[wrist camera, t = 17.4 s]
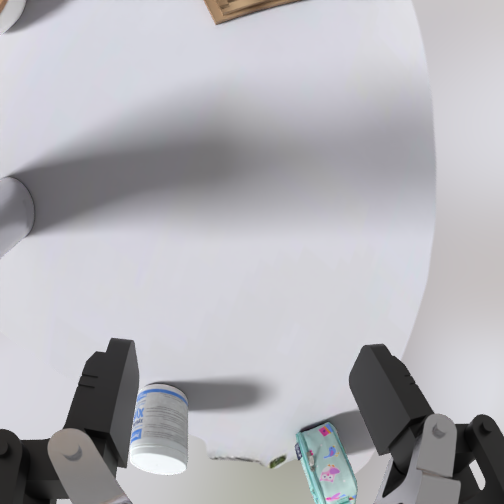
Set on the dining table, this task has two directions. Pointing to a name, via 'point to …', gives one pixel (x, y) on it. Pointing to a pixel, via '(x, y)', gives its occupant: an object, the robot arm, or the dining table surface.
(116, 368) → the robot arm
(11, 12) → the lidded jar
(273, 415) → the dining table surface
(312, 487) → the lunch box
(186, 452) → the supplement tub
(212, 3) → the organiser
